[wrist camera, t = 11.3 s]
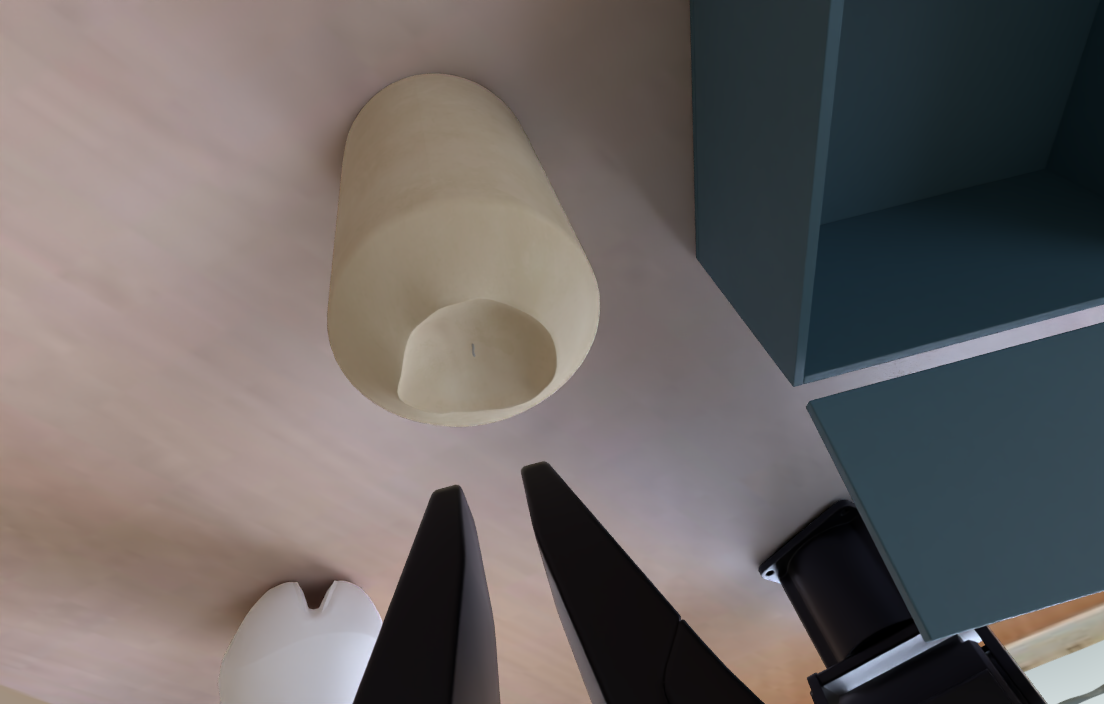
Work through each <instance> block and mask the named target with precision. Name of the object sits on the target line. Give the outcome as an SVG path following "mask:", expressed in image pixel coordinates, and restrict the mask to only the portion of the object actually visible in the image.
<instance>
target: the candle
mask: <svg viewBox="0 0 1104 704" xmlns="http://www.w3.org/2000/svg"><path fill="white" fill-rule="evenodd" d="M599 316H600V295H599V290H598V285H597V281H596V278H595V275H594V273H593V270H592V267H591V265H590V263H589V261H588V259H587V257H586V255H585V253H584V251H583V249H582V247H581V245H580V243H579V241H578V239H577V237H576V235H575V232H574V230H573V228H572V226H571V224H570V222H569V220H568V218H567V216H566V214H565V212H564V210H563V208H562V206H561V204H560V202H559V200H558V198H557V196H556V194H555V192H554V190H553V188H552V186H551V184H550V182H549V180H548V178H547V176H546V174H545V172H544V170H543V168H542V166H541V164H540V162H539V160H538V158H537V156H536V154H535V152H534V150H533V148H532V146H531V144H530V142H529V140H528V138H527V136H526V134H525V132H524V130H523V129H522V127H521V125H520V123H519V122H518V120H517V118H516V117H515V115H514V114H513V113H512V111H511V110H510V109H509V107H508V106H507V105H506V104H505V103H504V102H503V101H502V100H501V99H500V98H498V97H497V96H496V95H494V94H493V93H492V92H491V91H489V90H488V89H486V88H484V87H483V86H481V85H479V84H477V83H475V82H473V81H470V80H468V79H466V78H462V77H458V76H454V75H448V74H421V75H415V76H411V77H408V78H404V79H401V80H399V81H397V82H395V83H392V84H390V85H389V86H387V87H386V88H384V89H382V90H381V91H380V92H378V93H377V94H376V95H375V96H374V97H372V98H371V99H370V100H369V102H368V103H367V104H366V105H365V106H364V107H363V108H362V110H361V111H360V113H359V114H358V116H357V117H356V119H355V120H354V122H353V124H352V127H351V129H350V131H349V134H348V137H347V140H346V144H345V150H344V156H343V163H342V172H341V182H340V192H339V201H338V211H337V221H336V231H335V241H334V251H333V261H332V271H331V281H330V291H329V301H328V311H327V329H328V335H329V341H330V346H331V348H332V351H333V354H334V356H335V359H336V361H337V363H338V365H339V366H340V368H341V370H342V372H343V373H344V375H345V376H346V377H347V378H348V380H349V381H350V382H351V384H352V385H353V386H354V387H355V388H356V389H357V390H358V391H359V392H361V393H362V394H363V395H364V396H365V397H367V398H368V399H369V400H371V401H372V402H373V403H375V404H376V405H378V406H380V407H382V408H383V409H385V410H387V411H389V412H391V413H393V414H396V415H398V416H400V417H403V418H406V419H410V420H413V421H416V422H421V423H426V424H431V425H437V426H449V427H467V426H477V425H484V424H489V423H493V422H497V421H501V420H504V419H507V418H510V417H513V416H515V415H518V414H520V413H522V412H524V411H526V410H528V409H530V408H532V407H534V406H536V405H537V404H539V403H540V402H542V401H543V400H545V399H546V398H548V397H549V396H551V395H552V394H553V393H555V392H556V391H557V390H558V389H559V388H561V387H562V386H563V385H564V384H565V383H566V382H567V381H568V380H569V379H570V378H571V377H572V376H573V375H574V373H575V372H576V371H577V369H578V368H579V367H580V365H581V364H582V363H583V361H584V359H585V357H586V356H587V354H588V352H589V351H590V348H591V346H592V343H593V341H594V339H595V336H596V332H597V328H598V324H599Z"/></svg>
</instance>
